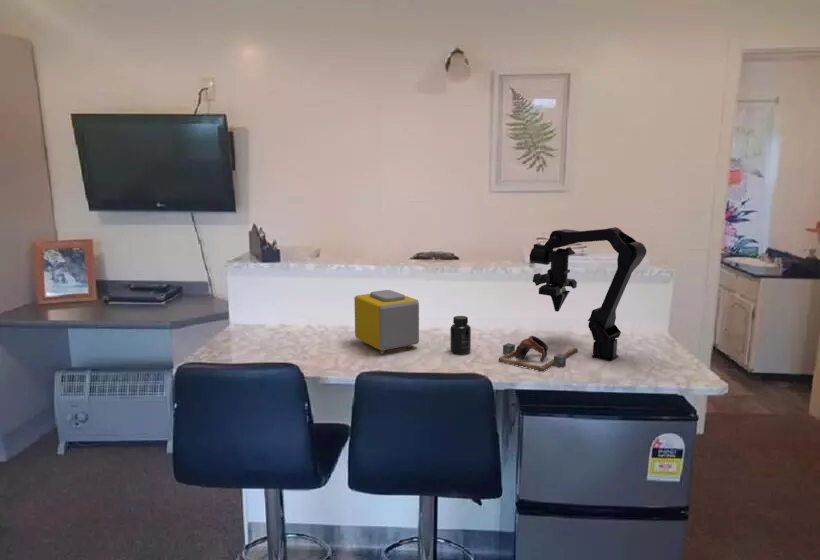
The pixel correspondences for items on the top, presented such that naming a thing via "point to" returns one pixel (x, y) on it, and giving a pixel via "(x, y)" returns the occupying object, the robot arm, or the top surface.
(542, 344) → the brown broken pot
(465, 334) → the supplement bottle
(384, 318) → the alarm clock
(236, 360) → the top surface
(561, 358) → the wooden u-shaped frame
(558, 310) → the robot arm
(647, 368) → the top surface
